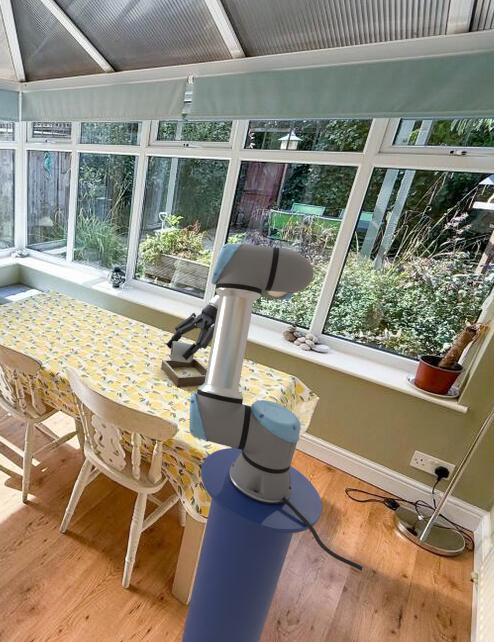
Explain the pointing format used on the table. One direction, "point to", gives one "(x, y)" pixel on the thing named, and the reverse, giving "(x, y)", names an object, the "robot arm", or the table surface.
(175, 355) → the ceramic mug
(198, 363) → the walnut holder
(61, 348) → the table surface
